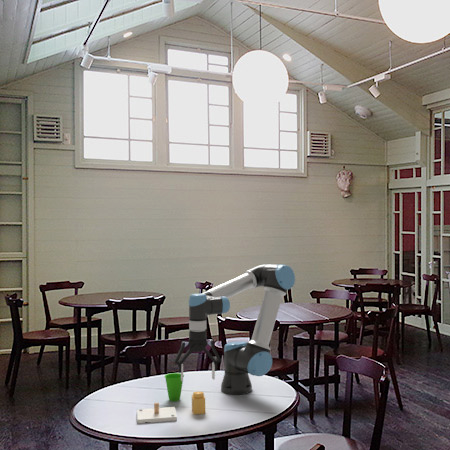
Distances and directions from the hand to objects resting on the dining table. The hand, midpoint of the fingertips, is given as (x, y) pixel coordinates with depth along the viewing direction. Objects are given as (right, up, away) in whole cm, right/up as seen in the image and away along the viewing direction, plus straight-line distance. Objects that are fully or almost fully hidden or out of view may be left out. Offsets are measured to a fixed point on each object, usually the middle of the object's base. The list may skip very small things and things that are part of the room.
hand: (197, 379), depth 211 cm
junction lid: (-17, -14, -5) cm, 23 cm away
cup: (-12, -15, +16) cm, 25 cm away
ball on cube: (0, -14, 0) cm, 14 cm away
